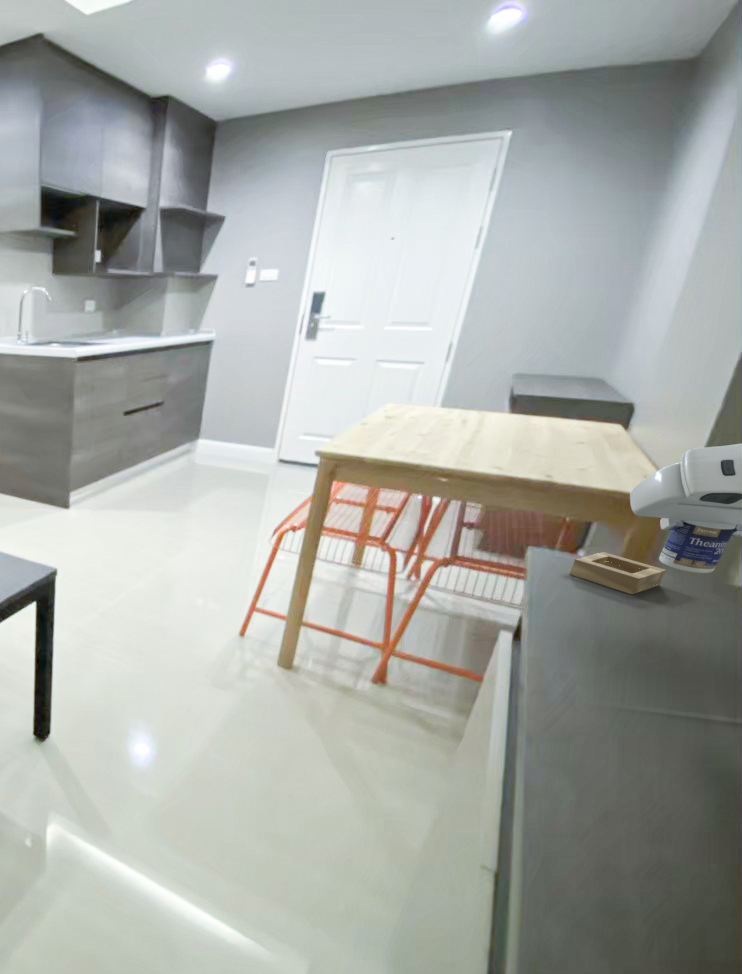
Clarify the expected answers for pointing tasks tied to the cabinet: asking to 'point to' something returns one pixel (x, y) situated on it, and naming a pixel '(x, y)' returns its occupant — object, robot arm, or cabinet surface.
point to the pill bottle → (696, 546)
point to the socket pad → (617, 572)
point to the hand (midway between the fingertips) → (698, 528)
